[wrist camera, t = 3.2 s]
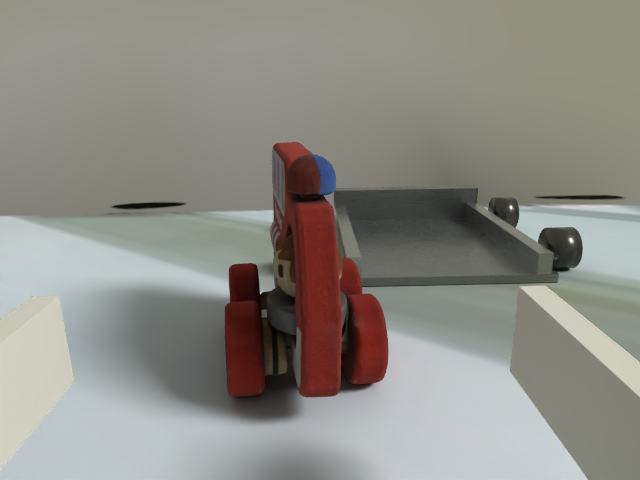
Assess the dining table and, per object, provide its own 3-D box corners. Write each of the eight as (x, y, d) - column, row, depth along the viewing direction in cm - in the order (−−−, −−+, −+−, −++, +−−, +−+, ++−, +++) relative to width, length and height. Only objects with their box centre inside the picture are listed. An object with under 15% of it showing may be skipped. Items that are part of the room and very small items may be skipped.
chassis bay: (305, 287, 34) (304, 236, 33) (306, 222, 51) (305, 187, 50) (590, 281, 34) (598, 230, 33) (495, 218, 51) (498, 184, 50)
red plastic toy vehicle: (226, 447, 19) (204, 171, 16) (232, 311, 30) (220, 139, 27) (404, 427, 20) (415, 164, 17) (343, 302, 31) (343, 135, 28)
